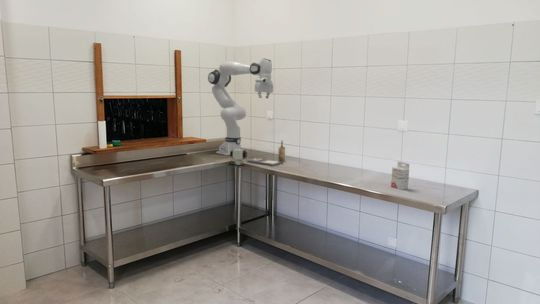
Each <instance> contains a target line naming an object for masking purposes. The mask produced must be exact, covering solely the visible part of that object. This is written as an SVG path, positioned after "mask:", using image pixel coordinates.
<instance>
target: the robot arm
mask: <svg viewBox="0 0 540 304" xmlns="http://www.w3.org/2000/svg"><path fill="white" fill-rule="evenodd" d="M272 69H273V63H272V60H271V59H268V58H264V57H263V58H261V60H259V61H256V62H252V63H251V64H250V65H248V64H244V63H242V62H238V61H237V62H236V61H224V62H221V63H220V64H219V67H218V69H214V70H213V71H211V72H210V73H208V75H207V81H208V83H210V84H211V85H213V86H212V88H211V92H212V94H213V97H214V98H215V100H216V102H217V103H218V105H219V106H220V107H221V108H222V109H221V111H220V117H221V119H222V120H223V121H224V123H225V126H226V127H225V128H226V137H224V141H223V143H222V144H221V145H219V148H218V150H217V151H216V152H215V153H216V154H220V155H224V156H230V152H231V151H232V150H233V149H238V148H239V149H240V150H242V145H241V141H242V137H241V128H240V126H239V125H238V122H237V121H240V120H243V119H244V118H246V117H247V110H246V109H245V108H244V107H242V106H240V105H239V104H238V103H237V102H236V101H234V100H233V99H232V97H231V96H230V94H229V93H228V91H227V90H226V88H227V87H228V85H229V84H230V83H231V81H232V76H239V75H247V74H249V75H253V76H258V78H255V79H254V80H255V84H254V91H255V92H257V94H258V95H257V96H258V98H259V99H262V93H266V95H265V99H269V97H270V94H273V92H274V84H273V81H272Z"/></svg>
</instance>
